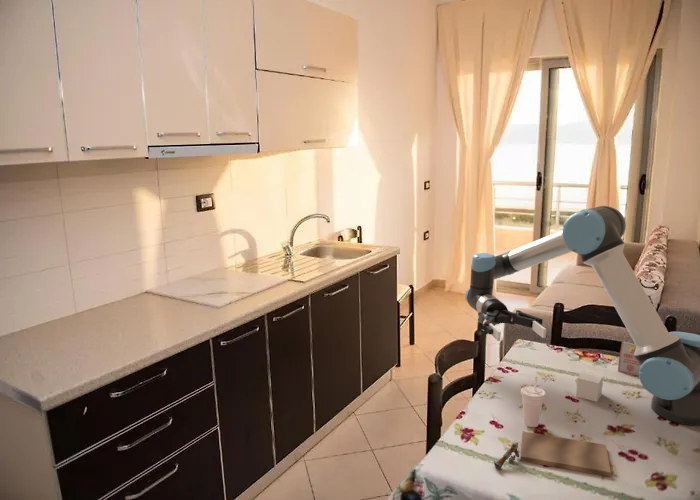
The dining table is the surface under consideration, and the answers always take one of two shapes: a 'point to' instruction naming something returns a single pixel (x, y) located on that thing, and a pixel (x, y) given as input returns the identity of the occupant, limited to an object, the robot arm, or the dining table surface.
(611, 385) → the dining table surface
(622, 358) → the small printed carton
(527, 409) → the smoothie
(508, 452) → the wooden post with brackets
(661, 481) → the dining table surface
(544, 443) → the walnut board
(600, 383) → the off-white cube
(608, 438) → the dining table surface
